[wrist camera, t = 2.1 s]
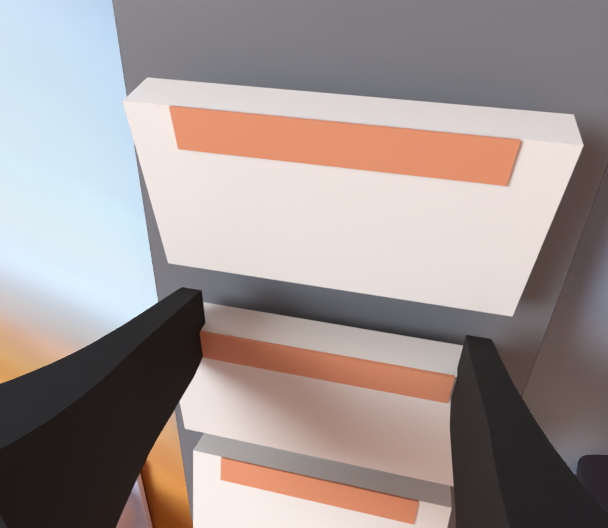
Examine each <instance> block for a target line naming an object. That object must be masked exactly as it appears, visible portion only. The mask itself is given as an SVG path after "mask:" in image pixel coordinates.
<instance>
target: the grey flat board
mask: <svg viewBox="0 0 608 528" xmlns="http://www.w3.org/2000/svg"><path fill="white" fill-rule="evenodd" d="M112 2H113V9H114V15H115V22H116V28H117V35H118V42H119V48H120V55H121V61H122V68H123V74H124V81H125V87H126V94H127V96H128V95H129V94H130V93H131V92H132V91H133V90H135V89H136V88H137V87H138V86H139V85H140V84H141V83H142V82H143V81H144V80H145V79H146V78H147V77H148V78H160V79H171V80H183V81H194V82H206V83H217V84H229V85H240V86H252V87H263V88H275V89H286V90H298V91H310V92H321V93H333V94H344V95H356V96H367V97H379V98H390V99H402V100H413V101H425V102H436V103H448V104H459V105H471V106H482V107H494V108H505V109H517V110H528V111H540V112H551V113H563V114H574V117H575V120H576V123H577V126H578V129H579V132H580V136H581V139H582V142H583V145H584V146H583V148H582V151H581V153H580V155H579V158H578V160H577V163H576V165H575V167H574V170H573V172H572V175H571V177H570V179H569V182H568V184H567V187H566V189H565V192H564V194H563V196H562V199H561V201H560V204H559V206H558V208H557V211H556V213H555V216H554V218H553V220H552V223H551V225H550V228H549V230H548V232H547V235H546V237H545V240H544V242H543V244H542V247H541V249H540V252H539V254H538V256H537V259H536V261H535V264H534V266H533V268H532V271H531V273H530V276H529V278H528V280H527V283H526V285H525V288H524V290H523V292H522V295H521V297H520V300H519V302H518V304H517V307H516V309H515V312H514V314H513V316H512V317H511V316H505V315H499V314H492V313H486V312H479V311H473V310H466V309H460V308H453V307H447V306H441V305H434V304H428V303H421V302H415V301H408V300H402V299H395V298H389V297H383V296H376V295H370V294H363V293H357V292H350V291H344V290H337V289H331V288H325V287H318V286H312V285H305V284H299V283H292V282H286V281H279V280H273V279H267V278H260V277H254V276H247V275H241V274H234V273H228V272H221V271H215V270H208V269H202V268H196V267H189V266H183V265H176V264H170V263H168V261H167V257H166V254H165V250H164V247H163V243H162V240H161V236H160V232H159V229H158V225H157V222H156V218H155V215H154V211H153V208H152V204H151V201H150V197H149V193H148V190H147V186H146V183H145V179H144V176H143V172H142V169H141V165H140V161H139V158H138V154H137V151H136V147H135V153H136V159H137V166H138V172H139V179H140V185H141V192H142V198H143V205H144V211H145V218H146V225H147V231H148V238H149V244H150V251H151V257H152V264H153V270H154V277H155V283H156V290H157V296H158V302H159V301H161V300H162V299H164V298H165V297H167V296H169V295H170V294H172V293H173V292H175V291H176V290H178V289H180V288H181V287H185V288H191V289H197V290H202V296H203V302H206V303H212V304H218V305H224V306H230V307H236V308H242V309H248V310H254V311H259V312H265V313H271V314H277V315H283V316H289V317H295V318H301V319H307V320H313V321H319V322H325V323H331V324H337V325H343V326H349V327H355V328H361V329H367V330H373V331H379V332H385V333H391V334H397V335H403V336H409V337H415V338H421V339H427V340H433V341H439V342H445V343H451V344H457V345H464V341H465V337H466V335H471V336H477V337H483V338H488V339H491V340H492V341H493V342H494V344H495V346H496V349H497V351H498V353H499V355H500V357H501V359H502V362H503V364H504V366H505V368H506V370H507V372H508V373H509V375H510V377H511V379H512V381H513V383H514V385H515V387H516V389H517V390H518V392H519V394H520V395H521V397H522V395H523V392H524V389H525V387H526V384H527V381H528V379H529V376H530V373H531V370H532V368H533V365H534V362H535V360H536V357H537V354H538V352H539V349H540V346H541V343H542V341H543V338H544V335H545V333H546V330H547V327H548V324H549V322H550V319H551V316H552V314H553V311H554V308H555V305H556V303H557V300H558V297H559V295H560V292H561V289H562V286H563V284H564V281H565V278H566V276H567V273H568V270H569V267H570V265H571V262H572V259H573V257H574V254H575V251H576V249H577V246H578V243H579V240H580V238H581V235H582V232H583V230H584V227H585V224H586V221H587V219H588V216H589V213H590V211H591V208H592V205H593V202H594V200H595V197H596V194H597V192H598V189H599V186H600V183H601V181H602V178H603V175H604V173H605V170H606V167H607V164H608V0H112ZM134 146H135V144H134ZM175 414H176V421H177V427H178V434H179V440H180V447H181V453H182V460H183V466H184V473H185V479H186V486H187V492H188V499H189V506H190V512H191V519H192V521H193V450H194V448H195V447H196V445H197V443H198V442H199V440H200V439H201V437H202V435H203V434H204V433H202V432H198V431H193V430H188V429H185V427H184V422H183V417H182V412H181V407H180V402H179V403H178V405H177V406H176V408H175ZM450 491H451V504H452V509H451V514H450V518H449V522H448V526H447V528H456V516H455V497H454V487H453V486H450Z"/></svg>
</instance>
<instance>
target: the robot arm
mask: <svg viewBox="0 0 608 528" xmlns="http://www.w3.org/2000/svg"><path fill="white" fill-rule="evenodd" d="M204 324H205V314H204V305H203V296H202V290H197V289H191V288H185V287H181V288H180V289H178V290H176V291H175V292H173V293H172V294H170V295H169V296H167V297H165V298H164V299H162V300H161V301H159V302H158V303H156V304H155V305H153V306H152V307H150V308H149V309H147V310H146V311H144V312H143V313H141V314H140V315H138V316H137V317H135V318H133V319H132V320H130V321H129V322H127V323H126V324H124V325H123V326H121V327H119V328H117V329H116V330H114V331H112V332H111V333H109V334H107V335H105V336H104V337H102V338H100V339H99V340H97V341H95V342H94V343H92V344H90V345H88V346H86V347H84V348H82V349H81V350H79V351H77V352H75V353H73V354H71V355H68V356H66V357H64V358H62V359H60V360H58V361H56V362H54V363H52V364H49V365H47V366H44V367H42V368H40V369H37V370H35V371H32V372H30V373H27V374H25V375H23V376H20V377H18V378H15V379H12V380H10V381H7V382H4V383H1V384H0V528H153V527H152V523H151V518H150V514H149V509H148V505H147V501H146V496H145V492H144V488H143V483H142V479H141V474H140V472H141V470H142V467H143V465H144V463H145V461H146V459H147V457H148V455H149V453H150V451H151V449H152V447H153V445H154V443H155V442H156V440H157V438H158V436H159V435H160V433H161V431H162V430H163V428H164V426H165V425H166V423H167V421H168V420H169V418H170V416H171V415H172V413H173V411H174V410H175V408H176V406H177V405H178V403H179V401H180V400H181V398H182V396H183V395H184V393H185V391H186V390H187V388H188V386H189V384H190V383H191V381H192V379H193V378H194V376H195V374H196V372H197V369H198V367H199V365H200V363H201V360H202V358H203V353H202V346H201V339H200V331H201V329H202V328H203V326H204ZM450 441H451V456H452V469H453V483H454V497H455V516H456V528H608V512H607V511H606V510H605V509H604V508H603V507H602V506H601V505H600V504H599V502H598V501H597V500H596V499H595V498H594V497H593V496H592V495H591V494H590V493H589V491H588V490H587V489H586V488H585V487H584V486H583V484H582V483H581V482H580V481H579V480H578V478H577V477H576V476H575V475H574V474H573V472H572V471H571V470H570V468H569V467H568V466H567V465H566V463H565V462H564V461H563V459H562V458H561V457H560V455H559V454H558V453H557V451H556V450H555V449H554V447H553V446H552V444H551V443H550V442H549V440H548V439H547V437H546V436H545V434H544V433H543V431H542V430H541V428H540V427H539V425H538V424H537V422H536V421H535V419H534V417H533V416H532V414H531V412H530V411H529V409H528V408H527V406H526V404H525V402H524V401H523V399H522V397H521V395H520V394H519V392H518V390H517V389H516V387H515V385H514V383H513V381H512V379H511V377H510V375H509V373H508V372H507V370H506V368H505V366H504V364H503V362H502V359H501V357H500V355H499V353H498V351H497V349H496V346H495V344H494V342H493V341H492V340H491V339H488V338H483V337H477V336H471V335H466V337H465V341H464V345H463V348H462V352H461V356H460V360H459V363H458V367H457V379H456V383H455V386H454V390H453V393H452V397H451V406H450Z"/></svg>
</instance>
